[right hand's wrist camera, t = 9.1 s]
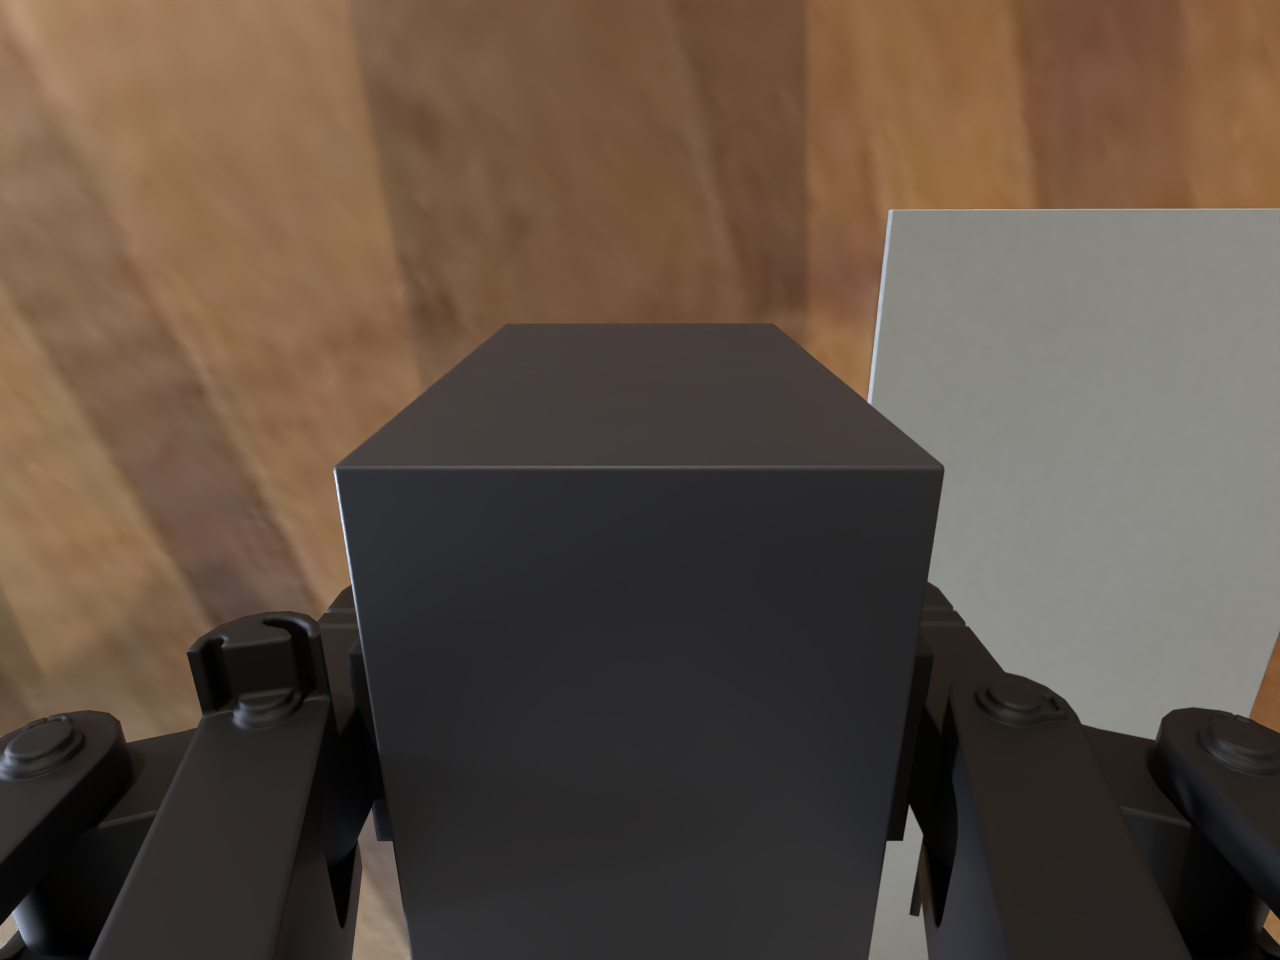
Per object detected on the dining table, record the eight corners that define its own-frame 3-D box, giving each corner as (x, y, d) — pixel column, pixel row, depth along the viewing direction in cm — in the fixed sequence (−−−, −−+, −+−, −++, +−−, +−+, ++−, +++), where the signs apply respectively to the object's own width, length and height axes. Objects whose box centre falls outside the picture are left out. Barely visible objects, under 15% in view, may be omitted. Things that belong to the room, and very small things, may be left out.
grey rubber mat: (805, 958, 37) (807, 966, 36) (888, 209, 24) (892, 209, 24) (1155, 957, 37) (1161, 964, 37) (1419, 208, 24) (1432, 207, 24)
